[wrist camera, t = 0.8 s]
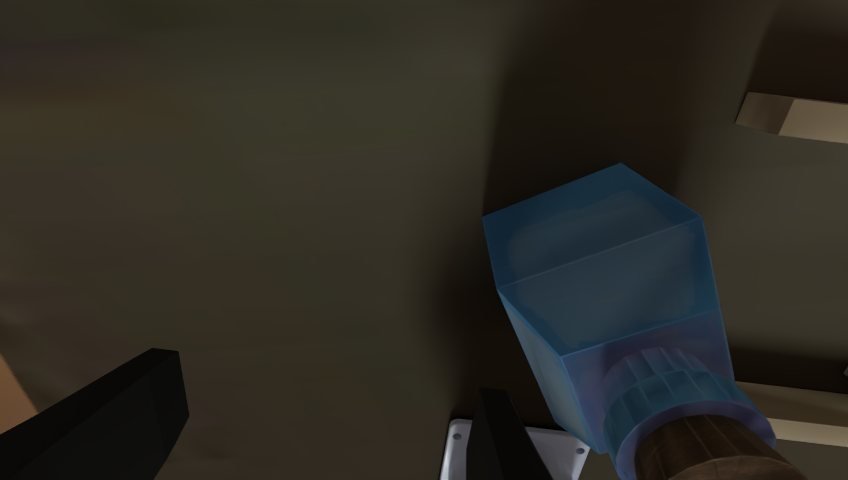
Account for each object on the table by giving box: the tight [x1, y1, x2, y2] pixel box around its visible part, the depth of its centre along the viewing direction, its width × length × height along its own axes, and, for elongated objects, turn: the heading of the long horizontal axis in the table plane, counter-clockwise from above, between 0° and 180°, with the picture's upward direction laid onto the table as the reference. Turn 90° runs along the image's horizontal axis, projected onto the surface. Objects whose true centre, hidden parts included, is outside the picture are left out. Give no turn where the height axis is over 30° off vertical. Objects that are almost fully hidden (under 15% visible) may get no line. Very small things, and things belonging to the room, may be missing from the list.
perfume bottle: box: [482, 163, 808, 480], centre depth 14 cm, size 6×6×12 cm
